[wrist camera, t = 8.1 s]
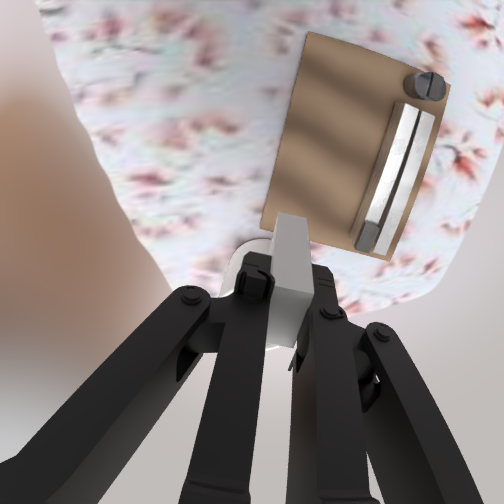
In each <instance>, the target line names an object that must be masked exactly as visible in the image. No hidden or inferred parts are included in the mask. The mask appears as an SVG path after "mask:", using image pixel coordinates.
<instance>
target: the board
mask: <svg viewBox="0 0 504 504" xmlns="http://www.w3.org/2000/svg"><path fill="white" fill-rule="evenodd" d="M413 73H424V72H423V71H421V70H419V69H416V68H414V67H412V66H409V65H407V64H405V63H402V62H400V61H397V60H395V59H392V58H390V57H387V56H385V55H382V54H379V53H377V52H374V51H371V50H368V49H365V48H363V47H360V46H357V45H354V44H350V43H347V42H344V41H341V40H338V39H334V38H331V37H327V36H324V35H320V34H316V33H312V32H309V31H308V34H307V38H306V42H305V46H304V50H303V54H302V58H301V62H300V66H299V70H298V74H297V78H296V83H295V87H294V91H293V95H292V99H291V103H290V107H289V111H288V115H287V119H286V123H285V127H284V131H283V135H282V139H281V143H280V147H279V151H278V155H277V159H276V163H275V168H274V172H273V176H272V180H271V184H270V188H269V192H268V196H267V200H266V204H265V208H264V212H263V216H262V220H261V224H260V229H264V230H268V231H272V232H274V228H275V224H276V220H277V216H278V212H281V213H286V214H290V215H295V216H299V217H303V218H307V225H308V234H309V241H312V242H316V243H320V244H324V245H328V246H332V247H336V248H340V249H344V250H348V251H352V252H355V253H359V254H363V255H367V256H371V257H374V258H378V259H382V260H386V261H390V260H391V258H392V255H393V253H394V251H395V249H396V246H397V244H398V242H399V239H400V237H401V234H402V232H403V230H404V227H405V225H406V222H407V220H408V217H409V215H410V212H411V210H412V207H413V204H414V202H415V199H416V196H417V194H418V191H419V188H420V186H421V183H422V180H423V177H424V174H425V171H426V169H427V166H428V163H429V160H430V157H431V154H432V150H433V147H434V144H435V141H436V138H437V134H438V131H439V128H440V124H441V121H442V117H443V114H444V110H445V106H446V102H447V99H448V95H449V91H450V87H451V85H450V84H448V83H446V82H445V83H446V88H447V90H446V95H445V97H444V98H443V99H442V100H440V101H437V102H434V101H426V100H417V99H412V98H410V97H409V96H407V95H406V93H405V92H404V90H403V80H404V78H405V77H406V76H407V75H409V74H413ZM395 102H400V103H406V104H408V105H411V106H413V107H415V108H417V109H419V110H422V111H424V112H427V113H429V114H431V115H433V116H435V119H434V123H433V126H432V129H431V133H430V136H429V139H428V143H427V146H426V149H425V152H424V155H423V158H422V161H421V164H420V167H419V170H418V173H417V176H416V179H415V182H414V184H413V187H412V190H411V193H410V195H409V198H408V201H407V204H406V206H405V209H404V211H403V214H402V216H401V219H400V222H399V224H398V227H397V229H396V231H395V234H394V236H393V239H392V241H391V244H390V246H389V248H388V251H387V253H386V255H385V256H384V255H381V254H377V253H373V251H372V249H371V250H370V253H369V254H368V253H365V252H361V251H358V250H355V248H354V246H353V244H352V241H351V238H350V236H349V234H350V231H351V229H352V226H353V224H354V221H355V219H356V216H357V213H358V211H359V208H360V205H361V203H362V200H363V197H364V195H365V192H366V189H367V187H368V184H369V181H370V178H371V175H372V173H373V170H374V167H375V164H376V161H377V158H378V155H379V152H380V149H381V146H382V143H383V140H384V137H385V134H386V131H387V128H388V125H389V122H390V119H391V115H392V112H393V109H394V106H395Z"/></svg>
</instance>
